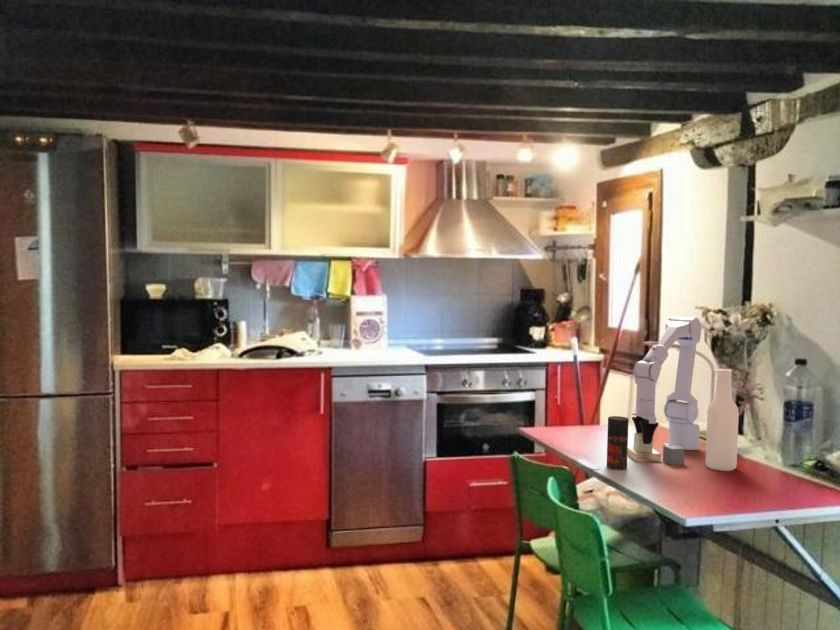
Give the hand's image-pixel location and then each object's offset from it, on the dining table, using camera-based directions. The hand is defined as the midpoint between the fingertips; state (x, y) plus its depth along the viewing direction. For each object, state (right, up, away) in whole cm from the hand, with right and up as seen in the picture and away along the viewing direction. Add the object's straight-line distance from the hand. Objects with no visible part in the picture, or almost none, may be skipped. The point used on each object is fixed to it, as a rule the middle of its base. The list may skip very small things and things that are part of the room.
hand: (644, 441), depth 241 cm
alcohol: (+20, -7, -10) cm, 23 cm away
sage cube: (0, -3, 0) cm, 3 cm away
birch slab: (0, -5, 0) cm, 5 cm away
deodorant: (-12, -6, -11) cm, 17 cm away
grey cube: (+8, -6, -5) cm, 11 cm away
